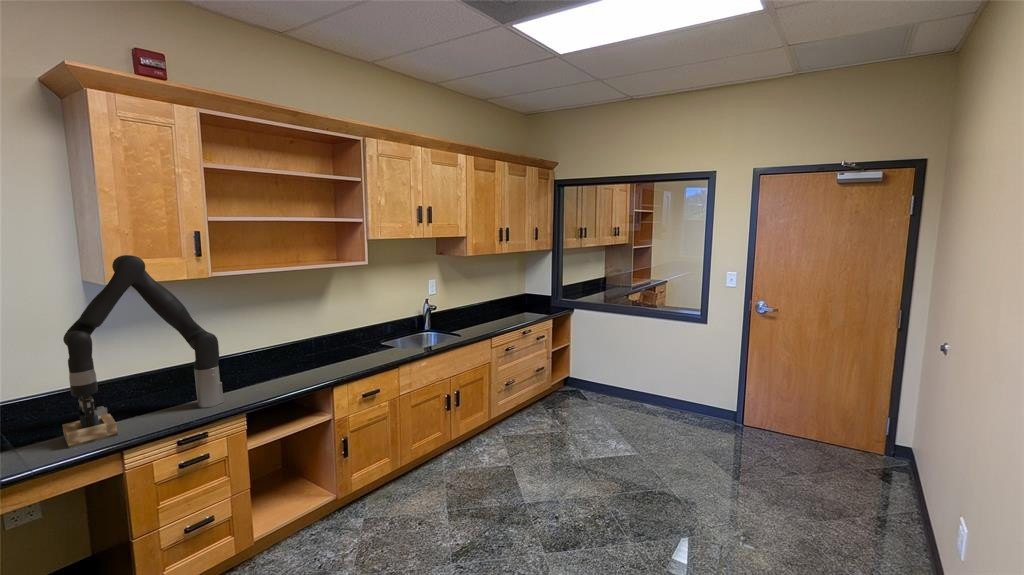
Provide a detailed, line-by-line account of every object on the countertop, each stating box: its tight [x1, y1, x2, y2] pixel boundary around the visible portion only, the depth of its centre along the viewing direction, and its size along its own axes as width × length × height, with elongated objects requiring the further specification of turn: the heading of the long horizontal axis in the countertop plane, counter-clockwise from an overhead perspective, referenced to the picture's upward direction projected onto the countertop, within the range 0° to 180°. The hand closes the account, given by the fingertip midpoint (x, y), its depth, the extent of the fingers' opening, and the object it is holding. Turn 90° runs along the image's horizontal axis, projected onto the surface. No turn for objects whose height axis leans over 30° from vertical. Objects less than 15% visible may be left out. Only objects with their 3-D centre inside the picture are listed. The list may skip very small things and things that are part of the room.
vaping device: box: [78, 406, 99, 429], centre depth 182 cm, size 3×5×12 cm, turn 136°
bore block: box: [61, 413, 119, 449], centre depth 183 cm, size 14×14×5 cm
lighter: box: [90, 405, 109, 416], centre depth 198 cm, size 7×2×8 cm, turn 152°
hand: (89, 423), depth 183 cm, fingers open, 5 cm apart
